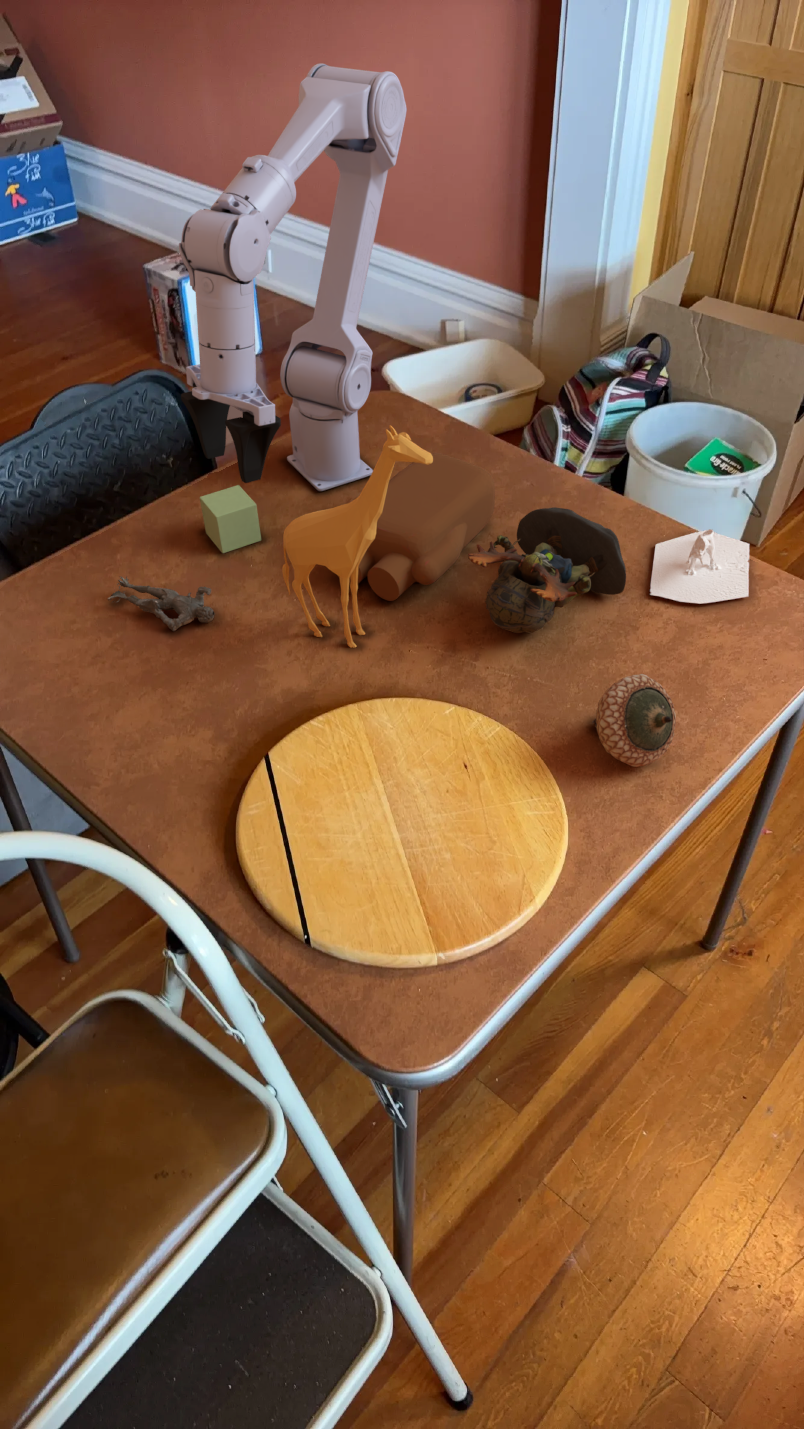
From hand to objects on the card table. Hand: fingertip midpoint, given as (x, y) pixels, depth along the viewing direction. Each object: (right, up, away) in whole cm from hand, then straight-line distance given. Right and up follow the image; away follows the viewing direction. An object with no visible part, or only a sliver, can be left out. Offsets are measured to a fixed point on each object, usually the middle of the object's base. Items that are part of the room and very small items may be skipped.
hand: (232, 468), depth 109 cm
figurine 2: (+34, -15, -2) cm, 37 cm away
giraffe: (+14, -20, -6) cm, 25 cm away
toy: (+20, -8, +6) cm, 23 cm away
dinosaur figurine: (+52, -12, +2) cm, 54 cm away
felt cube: (-1, -6, +8) cm, 10 cm away
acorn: (+37, -28, -15) cm, 49 cm away
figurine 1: (-7, -16, -1) cm, 18 cm away
